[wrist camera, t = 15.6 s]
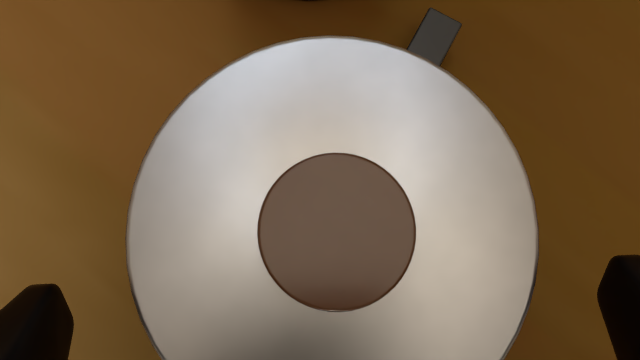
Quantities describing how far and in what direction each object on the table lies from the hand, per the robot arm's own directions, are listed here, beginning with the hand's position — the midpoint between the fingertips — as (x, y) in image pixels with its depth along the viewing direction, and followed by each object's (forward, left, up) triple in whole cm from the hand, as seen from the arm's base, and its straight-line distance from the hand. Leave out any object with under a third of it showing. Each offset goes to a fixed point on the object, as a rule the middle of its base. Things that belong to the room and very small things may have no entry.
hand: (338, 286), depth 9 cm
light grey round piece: (+1, 0, -6) cm, 6 cm away
